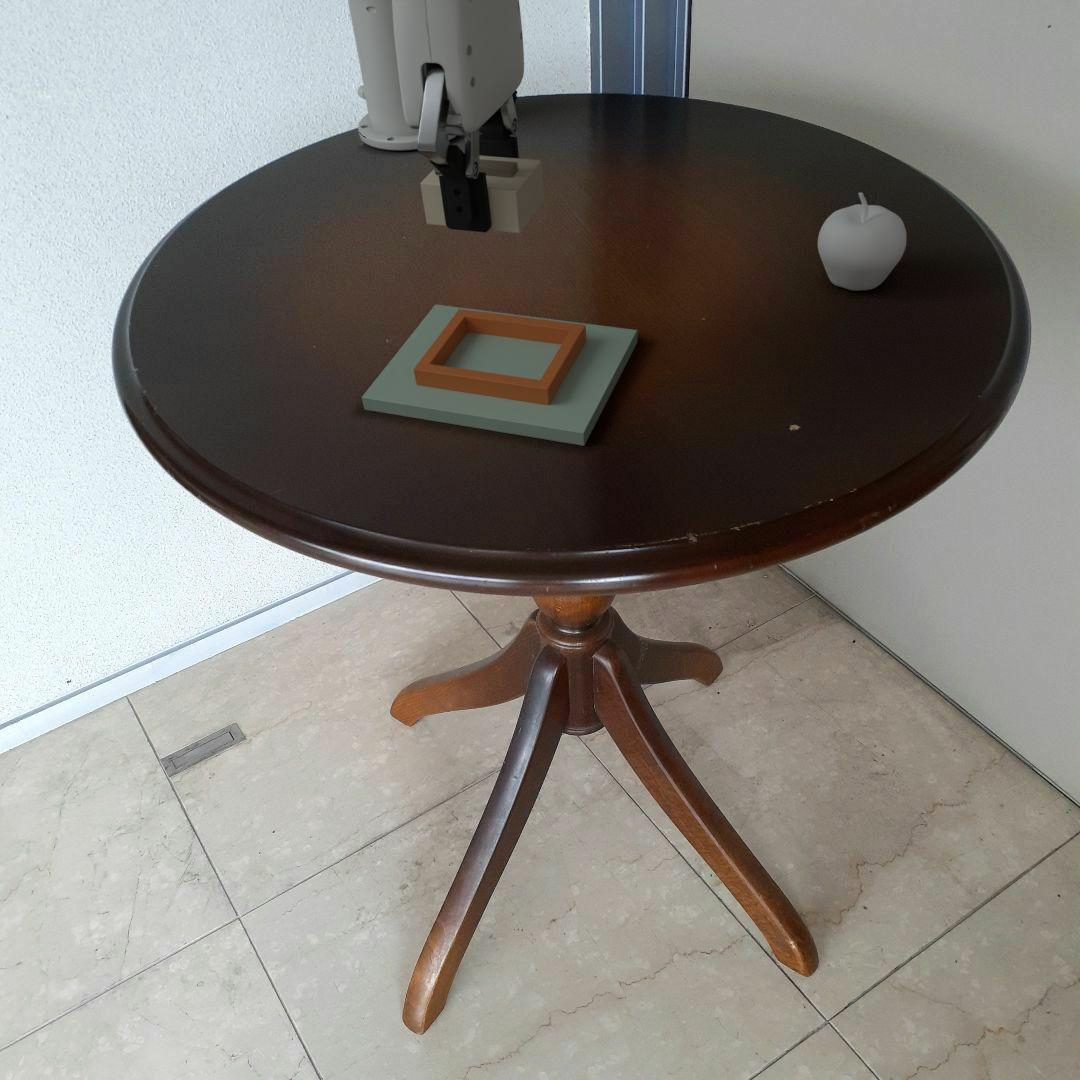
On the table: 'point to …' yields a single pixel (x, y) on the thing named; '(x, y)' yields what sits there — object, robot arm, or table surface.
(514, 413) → the board
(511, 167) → the block
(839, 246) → the plain white apple
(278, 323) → the table surface
